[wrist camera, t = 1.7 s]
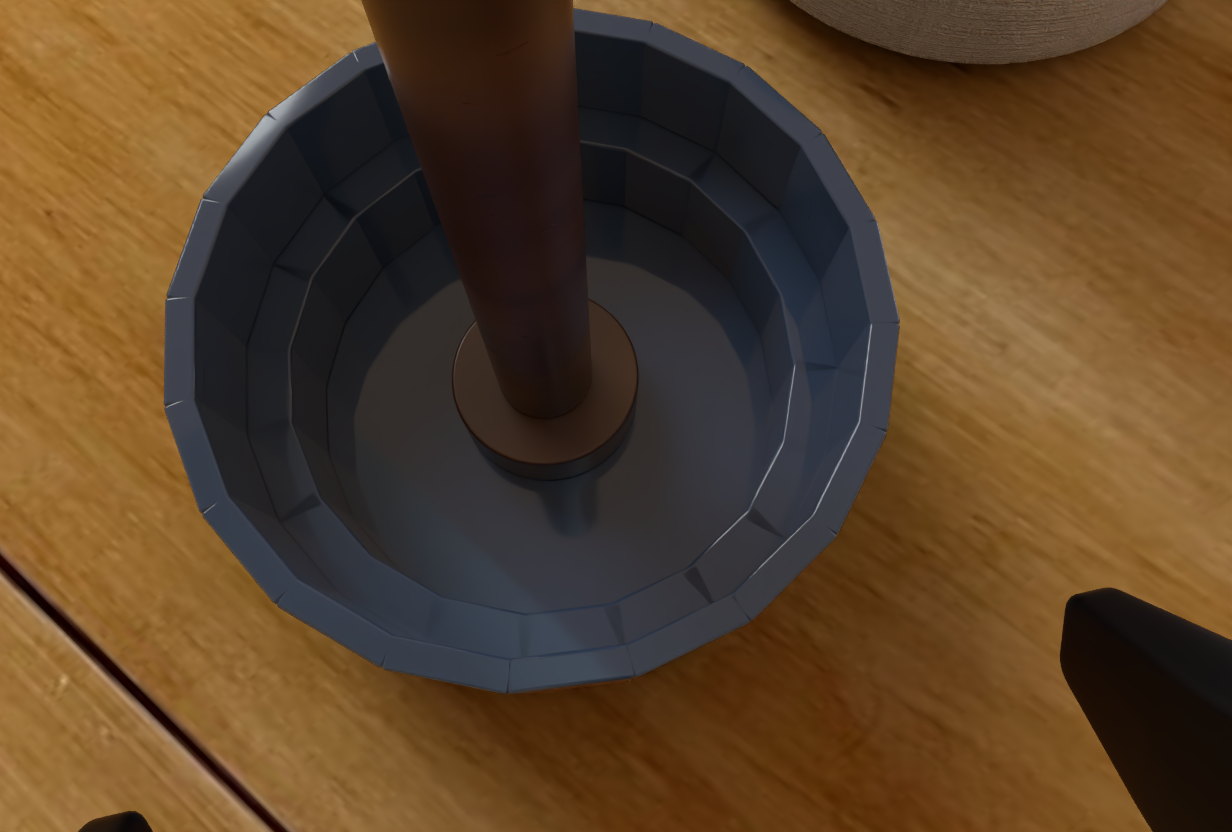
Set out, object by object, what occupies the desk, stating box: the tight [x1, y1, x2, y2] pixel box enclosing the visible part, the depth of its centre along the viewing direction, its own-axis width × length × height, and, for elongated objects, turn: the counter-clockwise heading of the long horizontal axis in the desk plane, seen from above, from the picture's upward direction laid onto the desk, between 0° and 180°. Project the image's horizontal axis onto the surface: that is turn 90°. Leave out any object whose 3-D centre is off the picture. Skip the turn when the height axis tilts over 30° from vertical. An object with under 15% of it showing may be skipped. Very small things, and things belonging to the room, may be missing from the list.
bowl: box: [164, 8, 900, 694], centre depth 21 cm, size 14×14×6 cm
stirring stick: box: [362, 0, 639, 480], centre depth 16 cm, size 4×4×16 cm
